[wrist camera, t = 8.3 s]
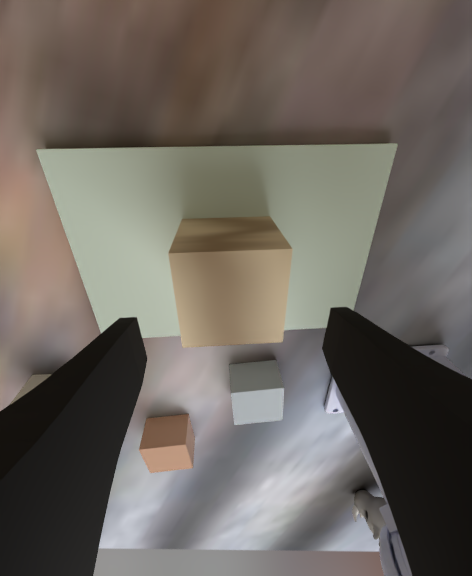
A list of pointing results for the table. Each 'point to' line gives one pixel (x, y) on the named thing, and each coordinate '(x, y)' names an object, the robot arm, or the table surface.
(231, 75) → the table surface
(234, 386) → the grey-blue block
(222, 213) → the sage board
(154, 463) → the terracotta block
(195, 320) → the maple block
